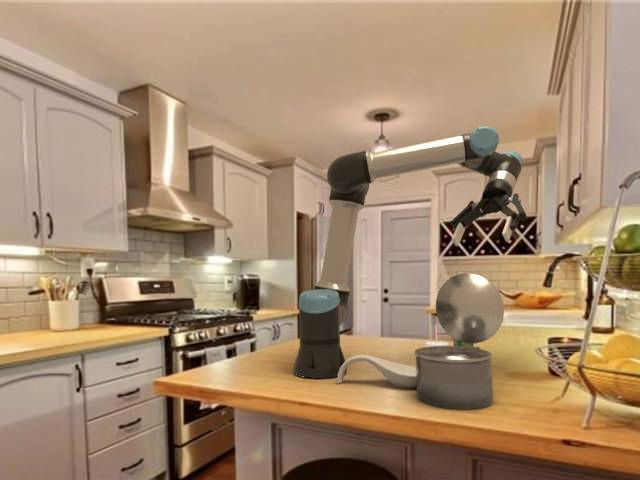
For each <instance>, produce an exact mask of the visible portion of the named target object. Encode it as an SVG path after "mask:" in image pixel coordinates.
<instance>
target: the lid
mask: <svg viewBox="0 0 640 480" xmlns="http://www.w3.org/2000/svg"><path fill="white" fill-rule="evenodd" d="M435 313H436V316H437V320H438V322H439V324H440V325H441V328H442V329H443V330H444V332H446V333H447V335H448V336H450V337H452V339H453V338H454V339H456V340H458V341H460V342H463V343H470V344H473V343H474V344H479V343H483V342H486V341H487V340H490V339H491V338H493V337H494V336H495V335H496V333H497V332H498V331H499V330H500V328H501V326H502V323H503V321H504V315H505V308H504V302H503V299H502V295H501V293H500V292H499V290H498V289H497V287H496V286H495V285H494V284H493V282H491V281H490V280H489V279H487V278H486V277H484V276H482V275H479V274H474V273H467V272H466V273H459V274H456V275H453V276H451V277H450V278H448V279H447V280H446V281H445V282H444V283H443V284H442V285H441V287H440V288H439V290H438V292H437V295H436V301H435Z"/></svg>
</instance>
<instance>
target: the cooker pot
mask: <svg viewBox="0 0 640 480" xmlns="http://www.w3.org/2000/svg"><path fill="white" fill-rule="evenodd" d="M414 356H415V367H416V378H417V387H416V397H417V400H418V401H420V402H421V403H423V404H425V405H429V406H432V407H436V408H440V409H445V410H455V411H458V410H460V411H472V410H481V409H482V410H483V409H485V408H488V407H491V406H492V405H493V404H494V391H493V389H494V388H493V387H494V386H493V375H492V374H493V373H492V372H493V370H492V356H493V354H492V353H491V351H488V350H486V349H482V348H480V347H479V346H474V347H472V346H454V345H448V346H431V347H426V346H424V347H419V348H417V349H415V350H414Z"/></svg>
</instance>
